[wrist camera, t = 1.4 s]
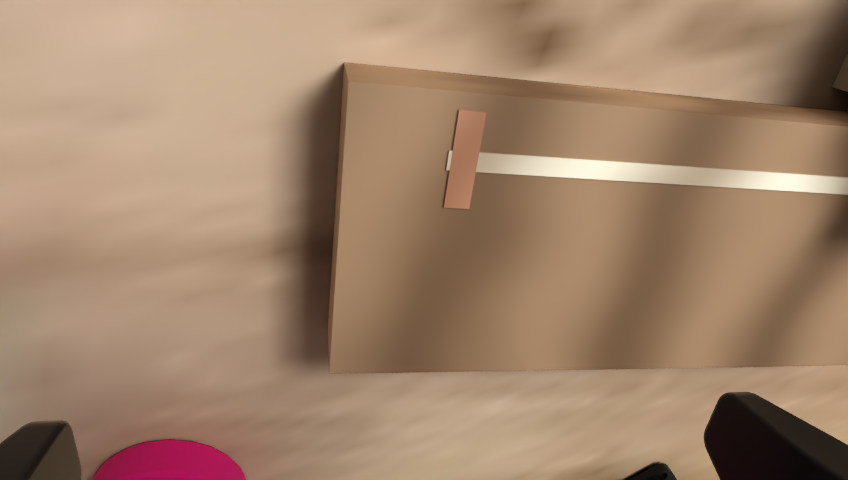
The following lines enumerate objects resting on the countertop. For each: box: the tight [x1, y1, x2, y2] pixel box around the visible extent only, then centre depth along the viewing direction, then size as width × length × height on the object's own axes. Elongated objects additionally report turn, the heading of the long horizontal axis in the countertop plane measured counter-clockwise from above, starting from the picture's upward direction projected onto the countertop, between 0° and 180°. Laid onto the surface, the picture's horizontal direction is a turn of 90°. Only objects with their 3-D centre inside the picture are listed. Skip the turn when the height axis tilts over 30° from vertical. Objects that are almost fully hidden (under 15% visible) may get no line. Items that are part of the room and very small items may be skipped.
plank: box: [328, 63, 848, 374], centre depth 21 cm, size 23×10×3 cm, turn 83°
